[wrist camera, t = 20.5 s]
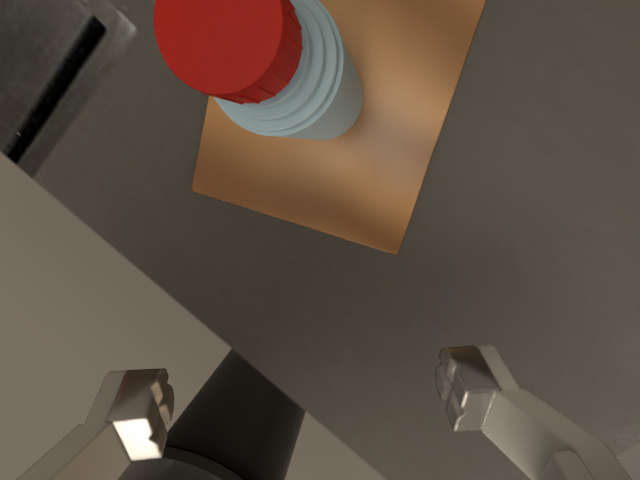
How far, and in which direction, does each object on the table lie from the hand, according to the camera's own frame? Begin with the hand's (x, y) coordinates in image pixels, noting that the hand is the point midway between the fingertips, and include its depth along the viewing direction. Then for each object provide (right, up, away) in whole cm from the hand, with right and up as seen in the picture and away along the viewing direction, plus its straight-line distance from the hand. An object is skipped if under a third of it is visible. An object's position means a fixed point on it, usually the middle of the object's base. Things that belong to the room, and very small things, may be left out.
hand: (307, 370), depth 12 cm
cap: (-3, +10, 0) cm, 11 cm away
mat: (+1, +15, +19) cm, 24 cm away
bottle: (0, +15, +18) cm, 23 cm away
